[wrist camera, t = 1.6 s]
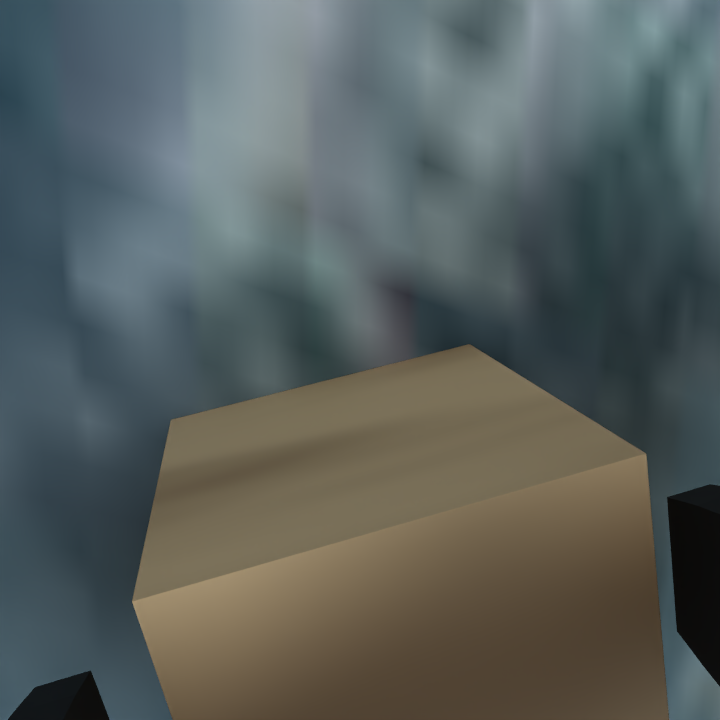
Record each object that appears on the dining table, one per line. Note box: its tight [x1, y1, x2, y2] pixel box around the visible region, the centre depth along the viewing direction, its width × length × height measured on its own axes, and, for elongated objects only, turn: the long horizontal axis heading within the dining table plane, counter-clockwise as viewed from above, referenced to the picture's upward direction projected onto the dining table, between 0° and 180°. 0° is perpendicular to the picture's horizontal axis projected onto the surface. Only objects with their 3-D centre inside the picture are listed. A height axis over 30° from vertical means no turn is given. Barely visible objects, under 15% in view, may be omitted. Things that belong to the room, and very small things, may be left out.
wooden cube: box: [132, 344, 669, 720], centre depth 9 cm, size 5×5×5 cm
